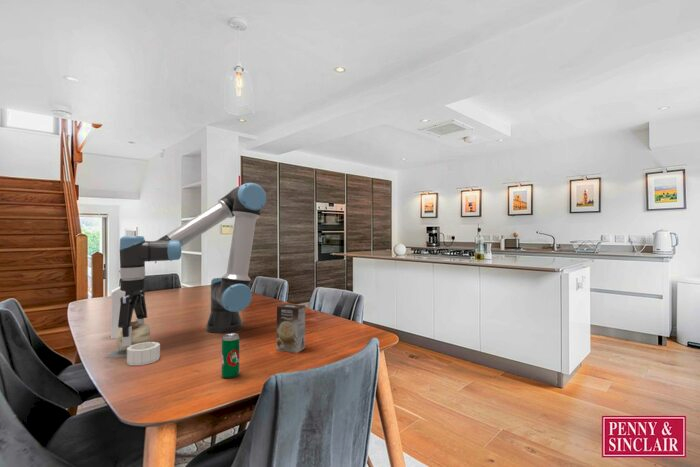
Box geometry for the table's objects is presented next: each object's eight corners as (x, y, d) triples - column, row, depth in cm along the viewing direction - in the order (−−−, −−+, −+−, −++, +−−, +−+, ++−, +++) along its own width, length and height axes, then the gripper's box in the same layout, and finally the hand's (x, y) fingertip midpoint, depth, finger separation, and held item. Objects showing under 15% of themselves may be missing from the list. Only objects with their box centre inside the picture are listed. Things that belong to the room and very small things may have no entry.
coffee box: (275, 350, 123) (275, 306, 123) (284, 345, 129) (284, 303, 129) (297, 353, 120) (298, 308, 120) (305, 347, 126) (306, 304, 126)
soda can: (224, 372, 102) (224, 332, 103) (241, 371, 103) (241, 332, 103) (219, 379, 97) (219, 337, 98) (237, 378, 98) (237, 337, 98)
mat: (156, 345, 127) (156, 344, 127) (143, 356, 116) (143, 355, 116) (121, 347, 125) (121, 346, 125) (104, 358, 113) (104, 357, 113)
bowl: (163, 355, 116) (163, 341, 117) (153, 365, 108) (153, 349, 108) (134, 357, 115) (134, 342, 115) (121, 367, 106) (121, 351, 106)
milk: (111, 340, 134) (111, 284, 135) (110, 336, 139) (110, 283, 139) (129, 337, 138) (129, 283, 138) (128, 333, 143) (128, 281, 143)
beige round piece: (154, 339, 127) (154, 318, 127) (143, 348, 117) (143, 325, 117) (125, 341, 125) (124, 319, 125) (111, 350, 115) (110, 327, 115)
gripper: (135, 275, 131) (136, 332, 131) (104, 283, 109) (105, 352, 109) (156, 274, 133) (157, 331, 133) (130, 282, 110) (131, 350, 111)
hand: (133, 340), depth 121 cm, fingers closed on beige round piece, 10 cm apart
